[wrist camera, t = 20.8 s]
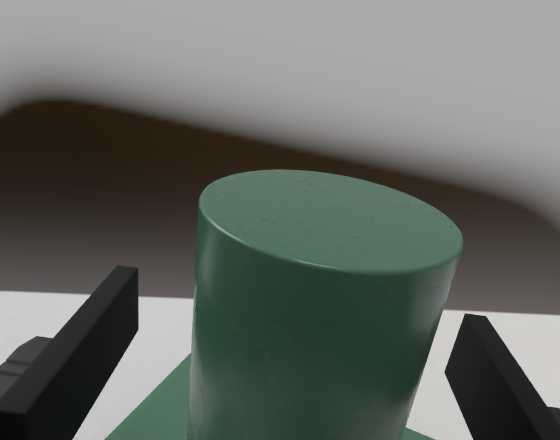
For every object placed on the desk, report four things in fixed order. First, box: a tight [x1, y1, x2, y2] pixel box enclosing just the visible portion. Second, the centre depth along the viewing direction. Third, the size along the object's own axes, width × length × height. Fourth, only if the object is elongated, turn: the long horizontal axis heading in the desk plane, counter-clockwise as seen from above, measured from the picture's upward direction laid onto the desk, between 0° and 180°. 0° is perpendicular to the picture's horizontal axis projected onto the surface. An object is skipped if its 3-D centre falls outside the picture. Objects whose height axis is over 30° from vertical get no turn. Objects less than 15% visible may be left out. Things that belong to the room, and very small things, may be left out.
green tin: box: [187, 170, 463, 440], centre depth 12 cm, size 6×6×13 cm
